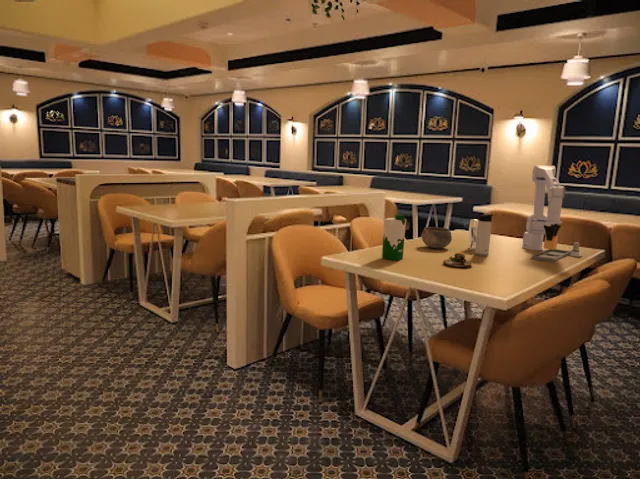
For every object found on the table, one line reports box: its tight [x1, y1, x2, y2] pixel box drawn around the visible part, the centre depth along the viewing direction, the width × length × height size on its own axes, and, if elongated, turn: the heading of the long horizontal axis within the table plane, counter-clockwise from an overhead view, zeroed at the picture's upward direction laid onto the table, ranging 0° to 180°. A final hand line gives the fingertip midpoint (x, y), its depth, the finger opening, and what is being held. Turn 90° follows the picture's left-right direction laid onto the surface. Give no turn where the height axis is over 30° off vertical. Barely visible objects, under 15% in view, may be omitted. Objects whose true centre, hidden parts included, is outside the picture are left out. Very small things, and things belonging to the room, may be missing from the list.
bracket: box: [567, 248, 583, 258], centre depth 247 cm, size 5×5×3 cm
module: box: [543, 235, 559, 250], centre depth 238 cm, size 4×4×7 cm
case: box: [539, 248, 569, 259], centre depth 248 cm, size 10×17×2 cm, turn 139°
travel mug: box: [474, 213, 494, 257], centre depth 239 cm, size 6×7×20 cm
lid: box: [531, 252, 562, 263], centre depth 237 cm, size 10×13×2 cm
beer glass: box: [467, 218, 479, 251], centre depth 257 cm, size 7×7×15 cm
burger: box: [442, 250, 473, 270], centre depth 214 cm, size 12×12×8 cm
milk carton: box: [381, 214, 407, 262], centre depth 221 cm, size 9×9×20 cm
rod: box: [572, 241, 580, 252], centre depth 246 cm, size 3×3×7 cm
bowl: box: [420, 226, 453, 250], centre depth 255 cm, size 14×15×10 cm
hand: (550, 240), depth 238 cm, fingers closed on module, 4 cm apart
